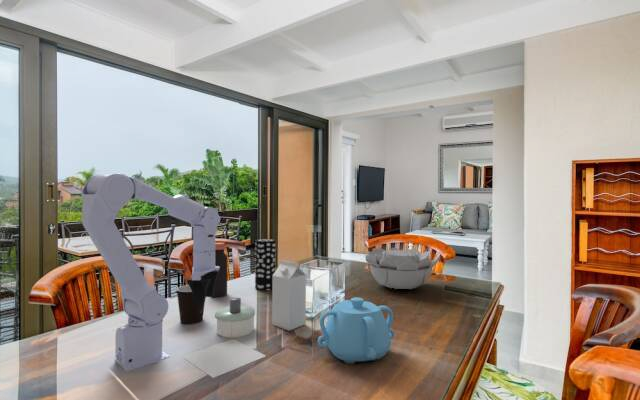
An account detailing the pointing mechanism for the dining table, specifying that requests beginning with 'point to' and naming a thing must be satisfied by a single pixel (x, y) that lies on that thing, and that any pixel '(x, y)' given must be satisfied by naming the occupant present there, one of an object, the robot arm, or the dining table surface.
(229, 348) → the mat
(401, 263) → the decorative bowl
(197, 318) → the coffee mug
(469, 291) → the dining table surface
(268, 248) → the spotted tube
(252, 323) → the bowl
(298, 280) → the milk carton
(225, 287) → the bottle
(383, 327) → the decorative pot
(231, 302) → the lid
